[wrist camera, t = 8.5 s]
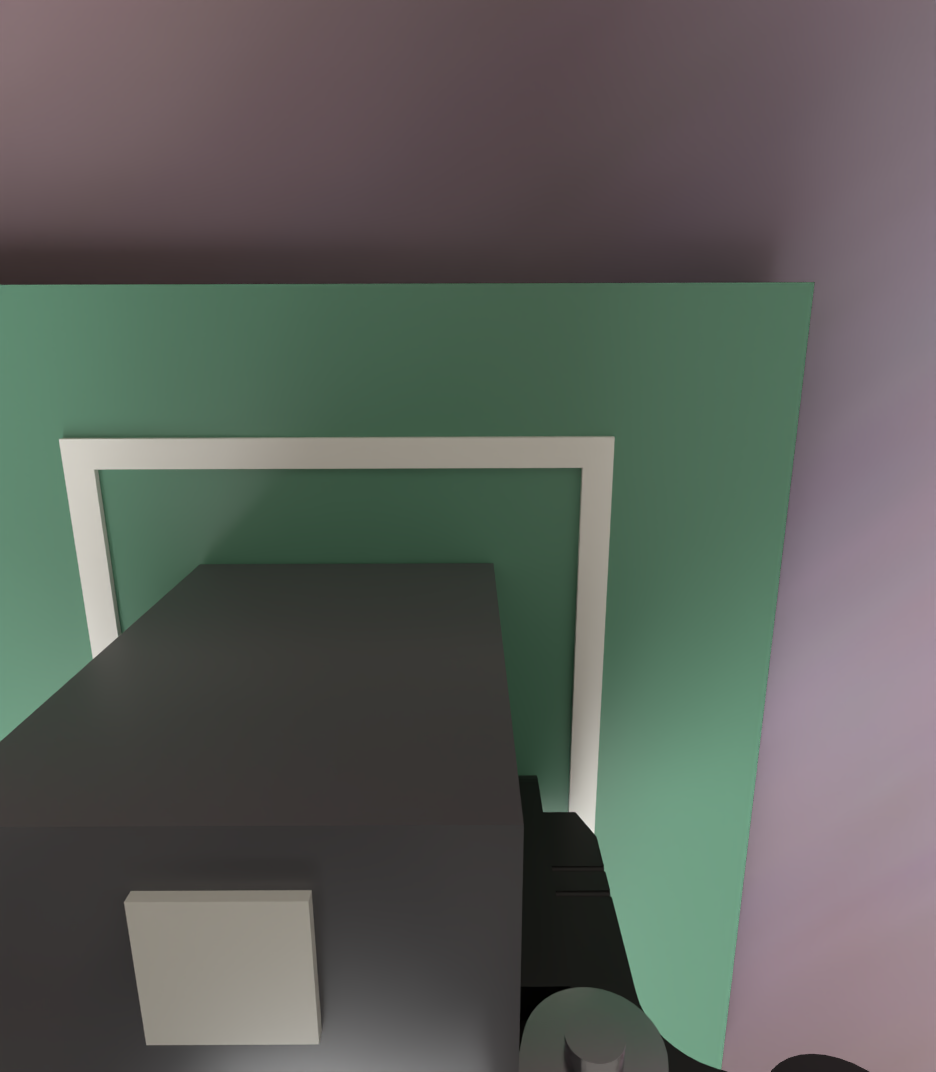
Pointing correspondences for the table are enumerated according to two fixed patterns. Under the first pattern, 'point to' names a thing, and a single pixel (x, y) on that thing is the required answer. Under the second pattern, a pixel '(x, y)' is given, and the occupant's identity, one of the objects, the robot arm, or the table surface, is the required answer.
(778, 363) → the board
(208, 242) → the table surface
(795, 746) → the table surface
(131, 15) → the table surface
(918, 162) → the table surface
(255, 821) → the block
